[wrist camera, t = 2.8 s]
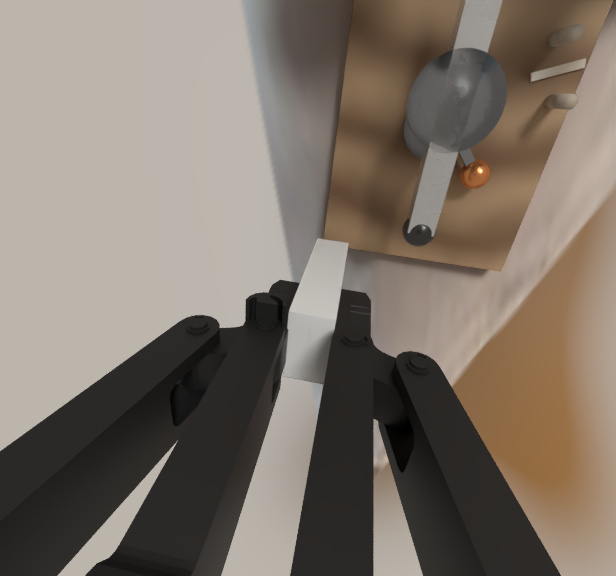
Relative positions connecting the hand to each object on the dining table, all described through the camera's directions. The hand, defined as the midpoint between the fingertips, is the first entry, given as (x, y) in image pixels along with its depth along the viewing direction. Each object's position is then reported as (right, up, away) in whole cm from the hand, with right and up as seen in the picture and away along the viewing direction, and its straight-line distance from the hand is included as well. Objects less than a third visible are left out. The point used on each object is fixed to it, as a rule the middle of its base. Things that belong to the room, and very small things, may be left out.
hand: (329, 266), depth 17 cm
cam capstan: (+11, +14, +11) cm, 21 cm away
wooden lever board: (+11, +13, +15) cm, 22 cm away
